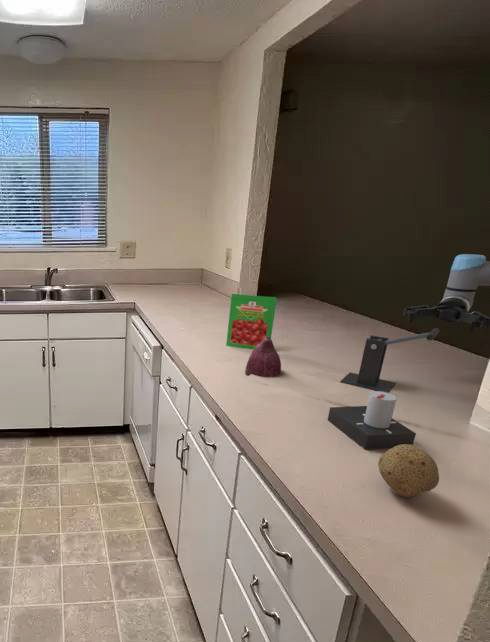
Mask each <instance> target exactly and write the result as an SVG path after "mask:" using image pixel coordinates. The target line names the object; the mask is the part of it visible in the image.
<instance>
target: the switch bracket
mask: <svg viewBox="0 0 490 642" xmlns="http://www.w3.org/2000/svg"><path fill="white" fill-rule="evenodd" d="M378 339H382V341H381V340H378ZM387 340H390V339H389V337H384V336H377V335H373V334H371V335H370V336H369V338H368V337H367V338H366V339H365V344H364V348H363V352H362V358H361V362H360V365H359V366H360V367H359V370H358V373H354V372H348V373H347V374H346V375H345V376H343V378H341V379H340V381H339V383H340V384H346V385H349V386H353V387H357V388H361V389H366V390H368V391H369V390H370V391H381V392H386V393H390V392H391V390H392V389H393V388H394V386H395V385H396V382H395V381H391V380H386V379H382V378H380V377H381V374H382V370H383V369H382V368H383V364H384V361H385V357H386V352H387V349H388V345H385V342H386V341H387Z"/></svg>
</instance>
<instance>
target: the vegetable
mask: <svg viewBox="0 0 490 642" xmlns="http://www.w3.org/2000/svg"><path fill="white" fill-rule="evenodd" d="M281 373H282V362H281V358H280V355H279V354H278V351H277V350H276V348H275V345H274V342H273V340H272V337H271V338H270V337H268V336H267V337H266V338H265V339H264V340H263V341H262V342H261V343H259V344H258V345H257V346H256V347H255V348H254V349H252V351H251V353H250V355H249V357H248V360H247V363H246V365H245V371H244V374H245V375H246V376H247V377H249V376H251V375H253V376H256V377H261V378H274V377H275V378H276V377H278V376H280V375H281Z"/></svg>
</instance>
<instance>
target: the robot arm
mask: <svg viewBox="0 0 490 642" xmlns="http://www.w3.org/2000/svg"><path fill="white" fill-rule="evenodd" d="M478 286H479V287H480V286H481V287H490V260H487V257H486V256H485V255H483V254H473V253H471V254H470V253H462V254H458V255H456V256H455V257H454V260H453V262H452V265H451V268H450V272H449V276H448V280H447V284H446V288H445V290H444V293H443V298H442V300H441V301H439V303H437V305H436V306H435V305H433V306H431V307H429V305H428V304H421V305H414V306H405V307H404V309H403V314H402V316H403V317H407V318H408V320H409V321H408V323H410V324H411V323H412V324H413V323H414V322H415V321H416V320H417V318H431V319H438V320H439V321H441V322H442V323H445V324H453V323H457V322H458V323H463V322H464V323H465V324H466V323H467V324H469V325H470V328H469V332H474V331H475V329H476V328H482V327H484V328H487V329H488V328H489V329H490V316H488V315H486V314H484V313H482V312H481V311H479V310H474V311H472V312H469V311H470V310H471V309H472V307H473V305H474V301H475V300H474V298H475V296H476V292H477V290H478Z"/></svg>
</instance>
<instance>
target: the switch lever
mask: <svg viewBox="0 0 490 642" xmlns="http://www.w3.org/2000/svg"><path fill="white" fill-rule="evenodd" d="M439 333H440V328H438V327H434V328H433V329H432V330H430V331H429V332H425V333H419V334H414V335H413V334H412V335H409V336H404V337H403V336H402V337H397V338H393V339H389V340H387V341H386V342H385V345H387V346H388V345H393V344H399V343H403V342H404V343H405V342H410V341H414V340H415V341H416V340H420V339H426V340H427V341H432V340H434V338H436V336H437V335H438V334H439ZM378 340H381V341H382V339H378Z"/></svg>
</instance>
